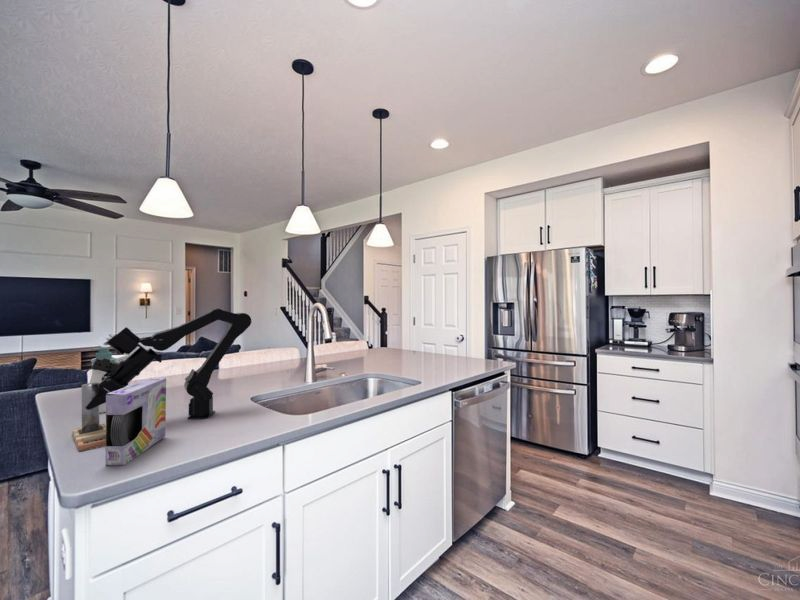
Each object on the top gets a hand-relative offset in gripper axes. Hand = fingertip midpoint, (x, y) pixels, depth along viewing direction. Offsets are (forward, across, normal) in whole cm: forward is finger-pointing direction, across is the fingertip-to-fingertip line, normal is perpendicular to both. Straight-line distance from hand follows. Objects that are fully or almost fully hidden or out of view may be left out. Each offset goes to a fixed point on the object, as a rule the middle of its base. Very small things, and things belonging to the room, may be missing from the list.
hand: (88, 405), depth 107 cm
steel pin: (+6, 0, +7) cm, 9 cm away
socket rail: (+5, +5, +7) cm, 10 cm away
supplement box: (+4, -54, +8) cm, 55 cm away
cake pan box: (-2, +23, +15) cm, 28 cm away
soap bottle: (+5, -30, +8) cm, 31 cm away
